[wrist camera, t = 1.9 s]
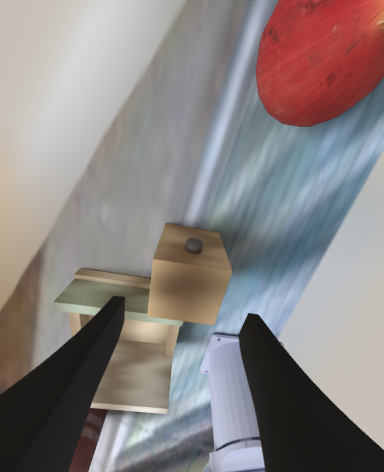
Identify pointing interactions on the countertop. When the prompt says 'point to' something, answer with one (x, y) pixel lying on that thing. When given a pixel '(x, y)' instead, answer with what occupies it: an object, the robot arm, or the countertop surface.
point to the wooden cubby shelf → (126, 341)
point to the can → (88, 440)
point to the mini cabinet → (188, 275)
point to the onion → (319, 58)
